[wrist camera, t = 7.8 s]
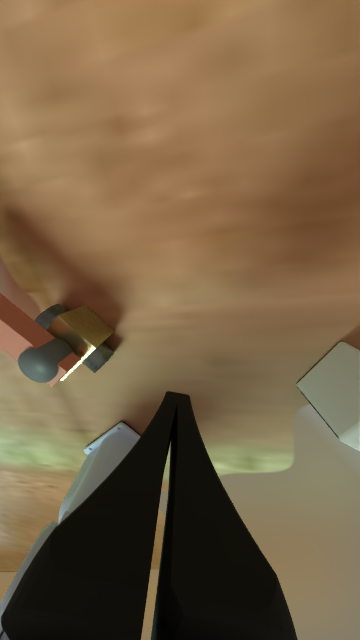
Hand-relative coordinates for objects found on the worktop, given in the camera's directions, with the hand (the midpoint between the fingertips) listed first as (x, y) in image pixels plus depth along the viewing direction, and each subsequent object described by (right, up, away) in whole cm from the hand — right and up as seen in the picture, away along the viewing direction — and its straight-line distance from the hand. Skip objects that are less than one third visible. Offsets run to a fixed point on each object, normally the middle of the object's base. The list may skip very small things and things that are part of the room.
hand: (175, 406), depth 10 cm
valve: (-11, +3, +11) cm, 16 cm away
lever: (-15, +5, +6) cm, 17 cm away
